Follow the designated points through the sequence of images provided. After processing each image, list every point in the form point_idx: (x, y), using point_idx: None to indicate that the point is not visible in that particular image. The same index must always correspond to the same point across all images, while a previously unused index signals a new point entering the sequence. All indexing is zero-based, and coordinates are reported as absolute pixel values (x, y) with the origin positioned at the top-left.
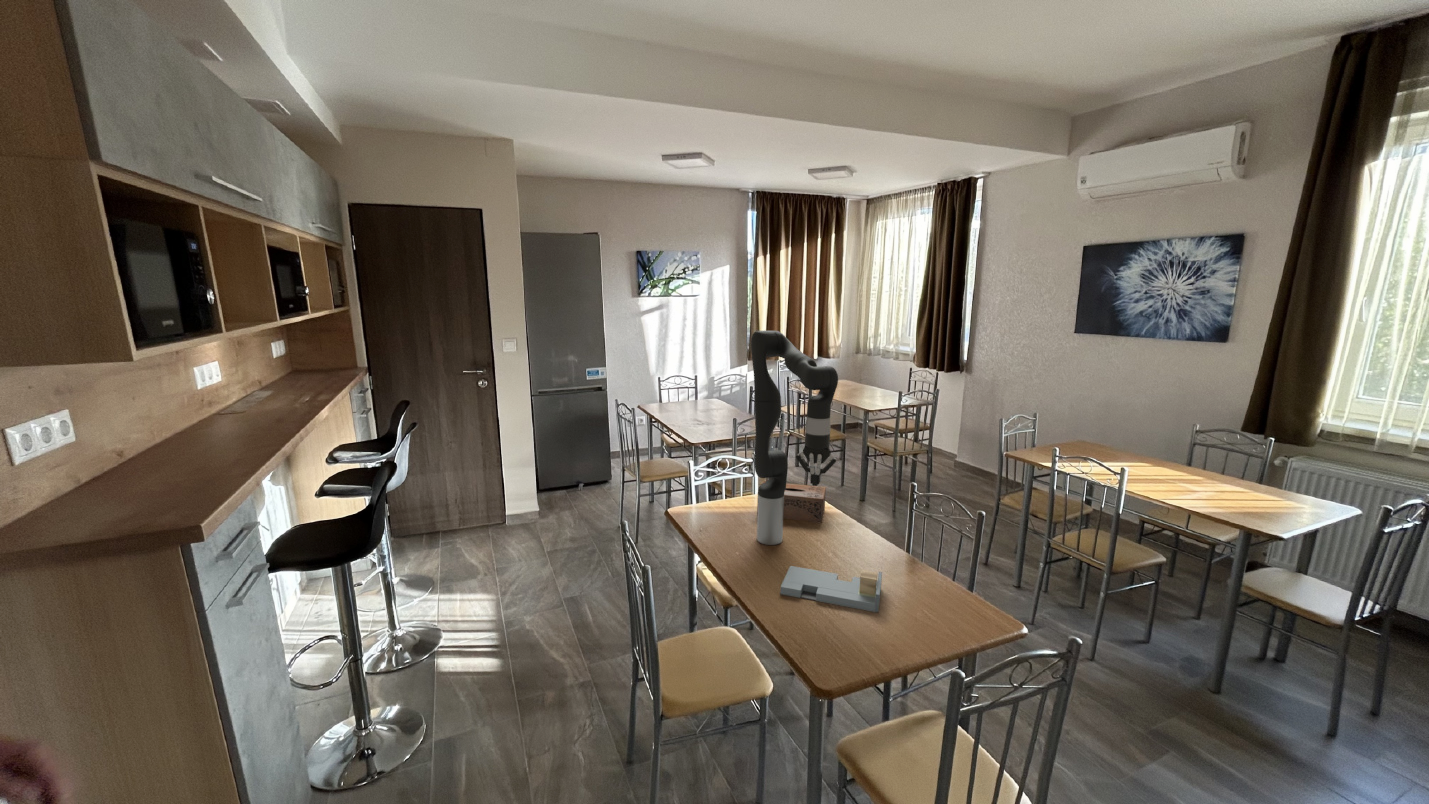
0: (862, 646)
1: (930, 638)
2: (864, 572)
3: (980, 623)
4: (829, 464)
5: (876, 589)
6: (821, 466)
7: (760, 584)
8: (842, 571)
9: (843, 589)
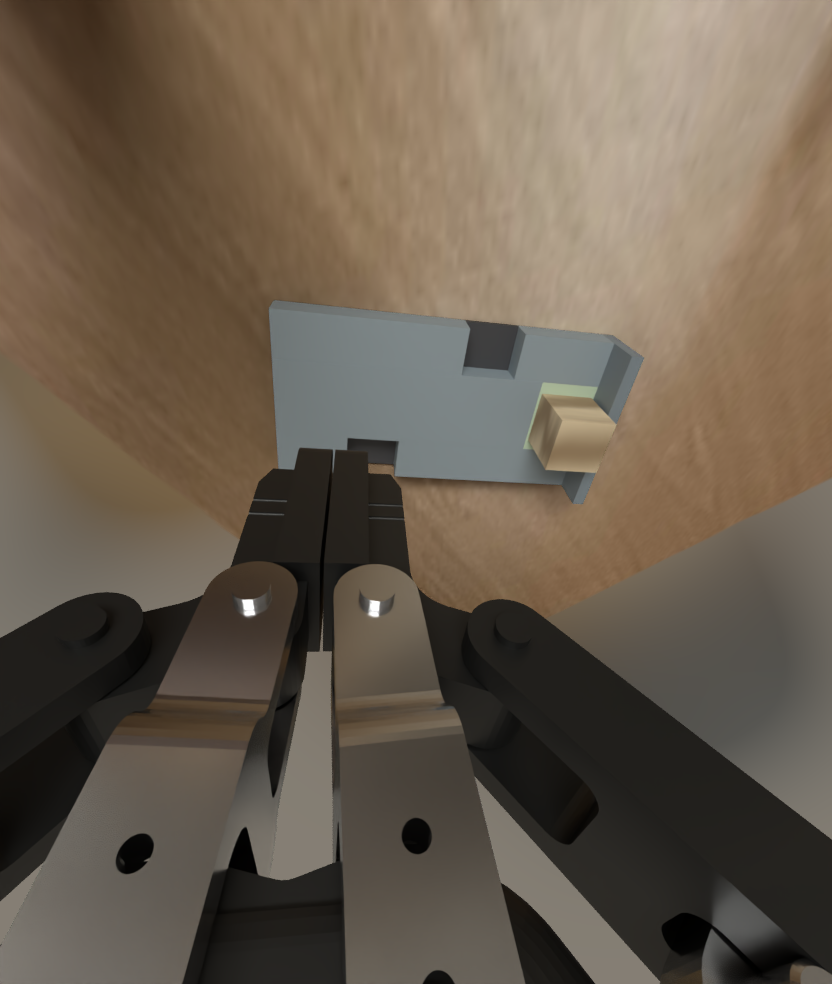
0: (497, 588)
1: (651, 533)
2: (568, 436)
3: (812, 450)
4: (640, 925)
5: (582, 478)
6: (440, 707)
7: (198, 417)
8: (491, 223)
9: (480, 435)
